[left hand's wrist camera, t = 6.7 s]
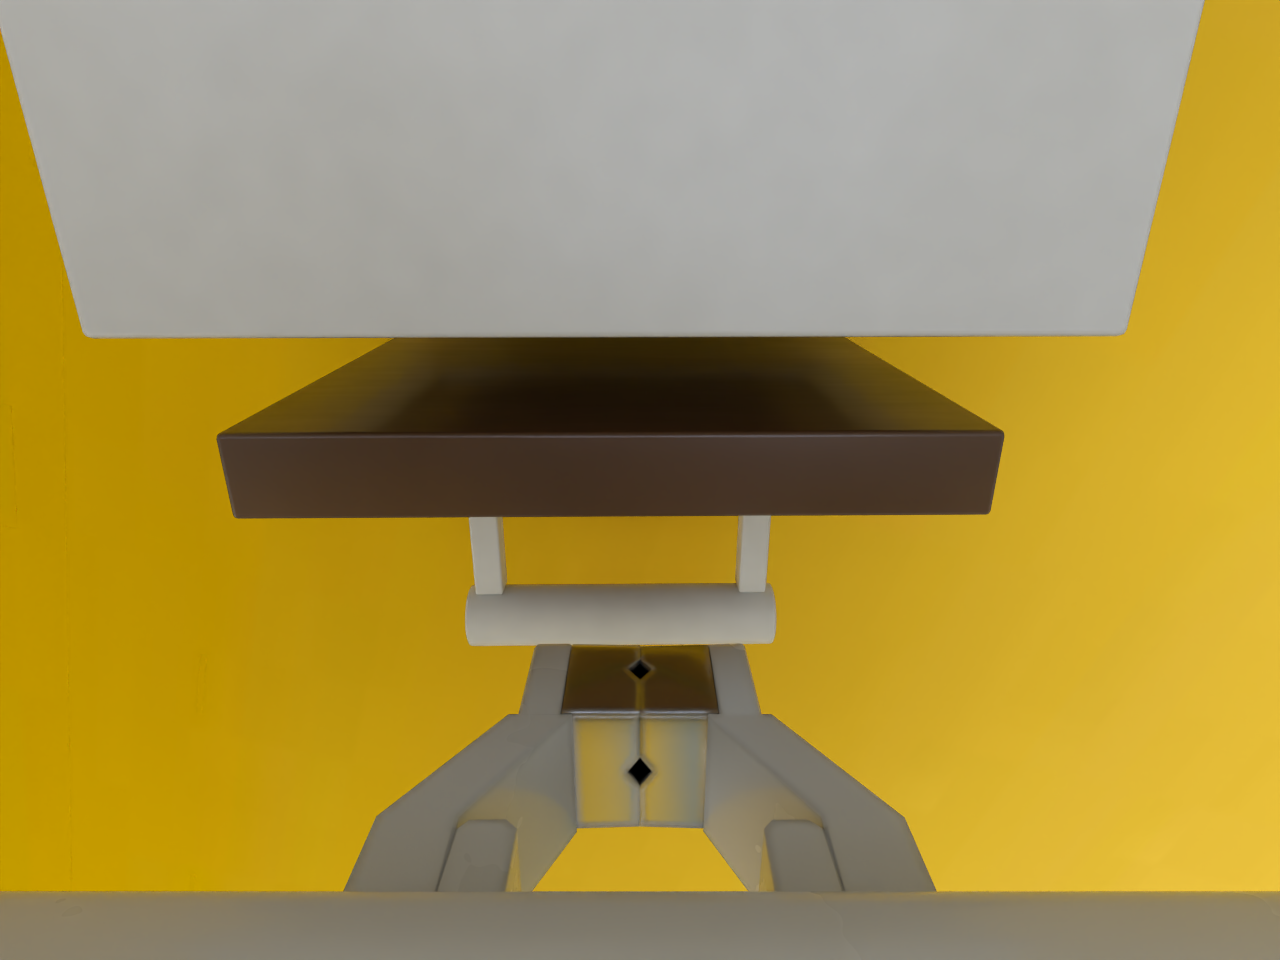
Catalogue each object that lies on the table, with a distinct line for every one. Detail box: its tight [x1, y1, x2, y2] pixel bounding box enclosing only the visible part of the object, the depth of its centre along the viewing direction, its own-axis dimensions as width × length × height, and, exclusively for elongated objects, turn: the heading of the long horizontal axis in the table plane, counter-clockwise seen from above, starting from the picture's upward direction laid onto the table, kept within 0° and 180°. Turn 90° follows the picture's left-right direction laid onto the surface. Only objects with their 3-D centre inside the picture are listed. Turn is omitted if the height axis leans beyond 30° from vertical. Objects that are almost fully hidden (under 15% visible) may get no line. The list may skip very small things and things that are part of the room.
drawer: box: [217, 337, 1004, 646], centre depth 12 cm, size 24×10×10 cm, turn 0°
